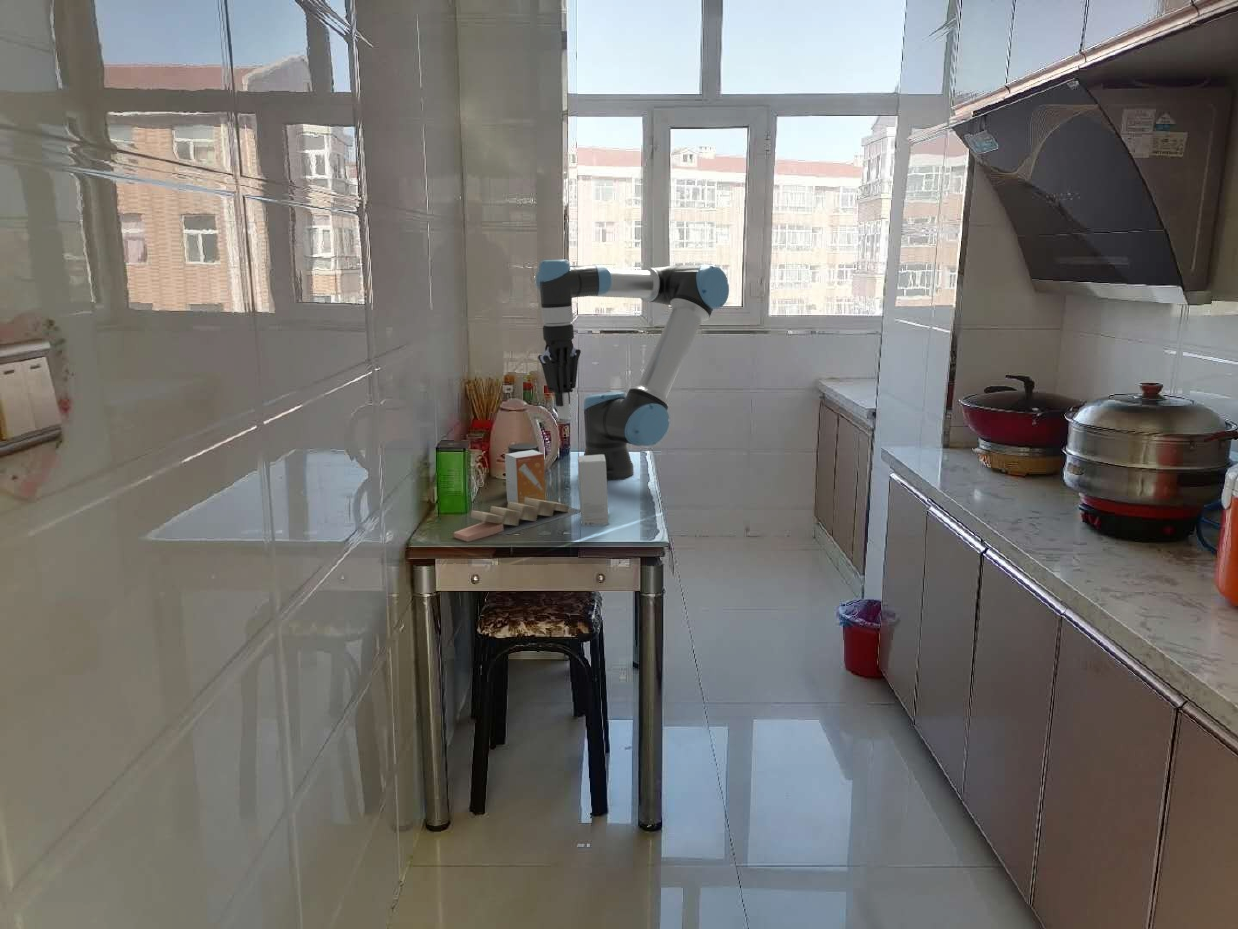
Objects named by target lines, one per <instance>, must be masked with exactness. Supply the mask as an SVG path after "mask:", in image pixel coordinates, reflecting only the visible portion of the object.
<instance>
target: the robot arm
mask: <svg viewBox="0 0 1238 929" xmlns="http://www.w3.org/2000/svg"><path fill="white" fill-rule="evenodd" d="M535 284H536V287H537V289H538V291H539V293H540V305H541V306H540V307H541V318H542V319H541V321H542V324H544V325H543V327H542V335H543V340H544V341H545V346H544V352H543V354H539V355H538V357H537V358H538V361H539V362H540V365H541V367H542V371H543V374H544V379H545V383H546V387H547V390H548V392H550V393H552V394H554V398H555V399H554V400H555V405H556V407H557V408H556V409H557V419H562V420H568V419H570V418H571V414H570V405H571V394H570V393H573V391H574V389H575V388H576V385H577V378H578V365H579V359H580V355H581V354H582V353H581V349H579V348H576V347H574V343H573V340H574V338H575V333H574V325H573V324H572V323H573V321H574V315H573V314H574V313H573V300H572V299H573V298H583V297H585V298H586V297H599V298H600V297H602V298H604V297H605V298H629V299H630V298H631V299H640V300H642V301H643V302H645V303H654V304H655V303H656V304H663V305H666V306H671V309H672V311H671V312H670V315H669V317H668V319H667V321H666V323H665V325H664V327H663V329H662V332H661V333H660V336H659V338H658V340H657V343H656V344H655V347H654V350H653V351H652V353H651V356H650V357H649V359H648V362H647V365H646V366H645V369H644V371H643V373H642V375H641V377H640V379H639V381H638V383H637V385H636V386H633V387H630V388H629V390H628V391H627V394H626V393H625V392H623V391H615V392H614V391H613V392H606V393H604V392H603V393H597V394H591V395H588V396H586V397H585V398H584V401H583V402H584V404H583V416H584V417H583V418H584V419H583V420H584V422H583V423H584V438H585V441H584V442H585V449H584V453H583V456H588V455H603V454H604V456H605V460H606V476H607V481H609V480H610V481H611V480H619V479H625V478H629V477H632V476H633V475H634V472H635V470H634V465H633V464H634V463H633V462H632V460H631V456H630V451H629V450H628V445H627V444H630V445H633V446H636V447H651V446H654V445H656V444H658V443H659V442H661V441H662V440H663V438H664V437H665V436H666V435H667V433H668V431H669V427H670V421H669V419H670V415H669V412H668V408H669V403H668V401H667V397H668V396H669V393H670V391H671V389H672V387H673V385H674V383H675V380H676V377H678V374H679V371H680V370H681V367H682V365H683V363H684V360H685V359H686V356H687V354H688V352H689V350H690V347H692V346H691V345H692V343H693V341H694V339H695V336H696V335H697V332H698V330H699V328H700V326H701V324H702V323H704V322H707V321H709V319H710V318H711V315H712V313H713V310H717V309H720V308H721V307H723V306H725V304H726V302H727V301H728V298H729V294H730V285H729V282H728V277H727V275H726V274H725V271H724V270H722V269H721V268H720V267H719V266H716V265H714V264H713V265H712V264H707V263H704V264H676V265H668V266H667V265H666V266H660V267H649V266H648V267H645V268H643V269H642V270H640V269H639V270H637V269H636V270H635V269H621V268H619V269H618V268H616V269H615V268H608V267H607V266H605V265H604V264H589V265H570V262H569V260H568V259H565V258H563V259H551V260H550V259H549V260H548V259H546V260H542V261H541V262H540V263H539V265H538V272H537V274H536V277H535Z"/></svg>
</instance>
